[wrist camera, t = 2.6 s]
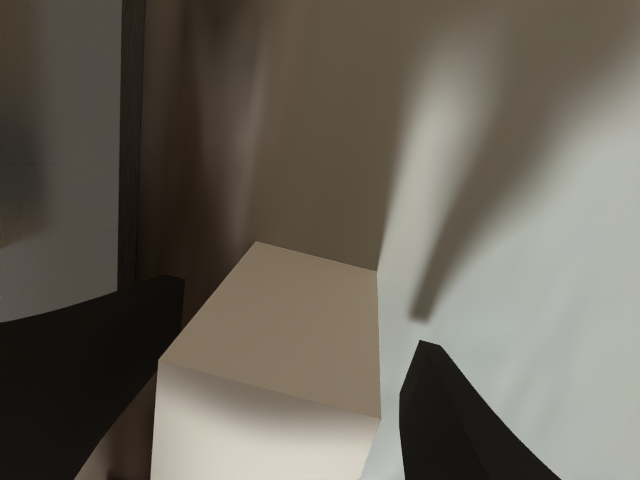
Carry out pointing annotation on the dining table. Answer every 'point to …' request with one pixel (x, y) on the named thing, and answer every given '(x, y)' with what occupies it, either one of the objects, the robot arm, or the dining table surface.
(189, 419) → the cream block
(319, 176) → the dining table surface
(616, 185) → the dining table surface
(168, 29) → the dining table surface
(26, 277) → the socket plate
